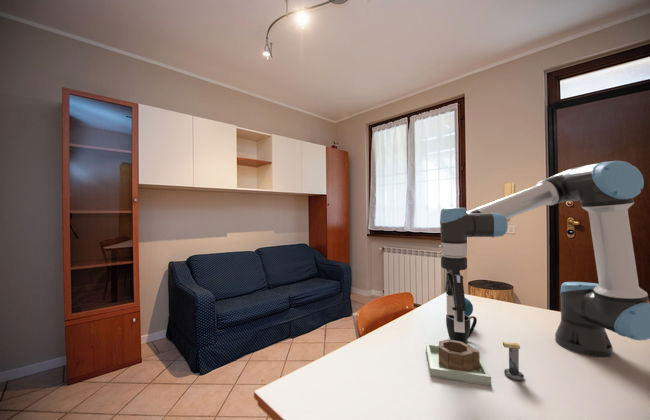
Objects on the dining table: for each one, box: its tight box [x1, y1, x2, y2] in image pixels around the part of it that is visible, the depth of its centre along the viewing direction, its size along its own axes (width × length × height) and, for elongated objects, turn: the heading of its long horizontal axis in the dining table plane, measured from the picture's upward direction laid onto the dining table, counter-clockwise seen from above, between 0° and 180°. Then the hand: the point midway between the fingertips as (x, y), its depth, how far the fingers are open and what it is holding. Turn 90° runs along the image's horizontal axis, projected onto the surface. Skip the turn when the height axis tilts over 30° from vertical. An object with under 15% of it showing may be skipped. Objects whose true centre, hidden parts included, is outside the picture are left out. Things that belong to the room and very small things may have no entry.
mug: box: [445, 313, 478, 344], centre depth 103 cm, size 8×12×10 cm
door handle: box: [502, 341, 525, 382], centre depth 81 cm, size 5×5×10 cm
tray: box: [425, 343, 492, 387], centre depth 86 cm, size 16×16×2 cm
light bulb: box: [458, 297, 474, 316], centre depth 118 cm, size 8×8×12 cm
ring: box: [438, 338, 481, 372], centre depth 86 cm, size 12×10×6 cm
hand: (455, 322), depth 87 cm, fingers open, 13 cm apart
